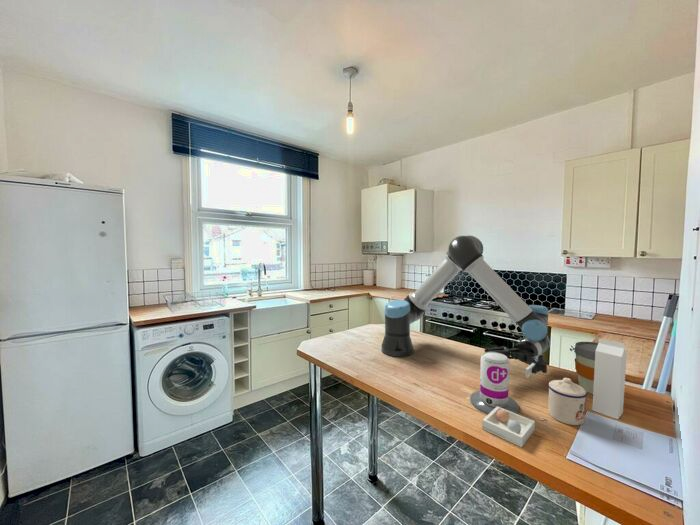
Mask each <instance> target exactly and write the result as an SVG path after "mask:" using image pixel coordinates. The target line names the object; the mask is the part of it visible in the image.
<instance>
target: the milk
mask: <svg viewBox="0 0 700 525" xmlns="http://www.w3.org/2000/svg"><path fill="white" fill-rule="evenodd" d="M597 343H598V346H597V348H596V351H595V370H594V389H593V394H592V395H593V396H592V411H594V412H596V413H599V414H601V415H604V416H607V417H609V418H613V419H615V420H619V419H620V417H621V415H622V414H623V412H624V400H625V385H626V368H627V366H626V365H627V353H628V352H627V350H626V344H625V343H623V342H619V341H615V340H608V339H605V338H604V339H603V338H598V342H597Z"/></svg>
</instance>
